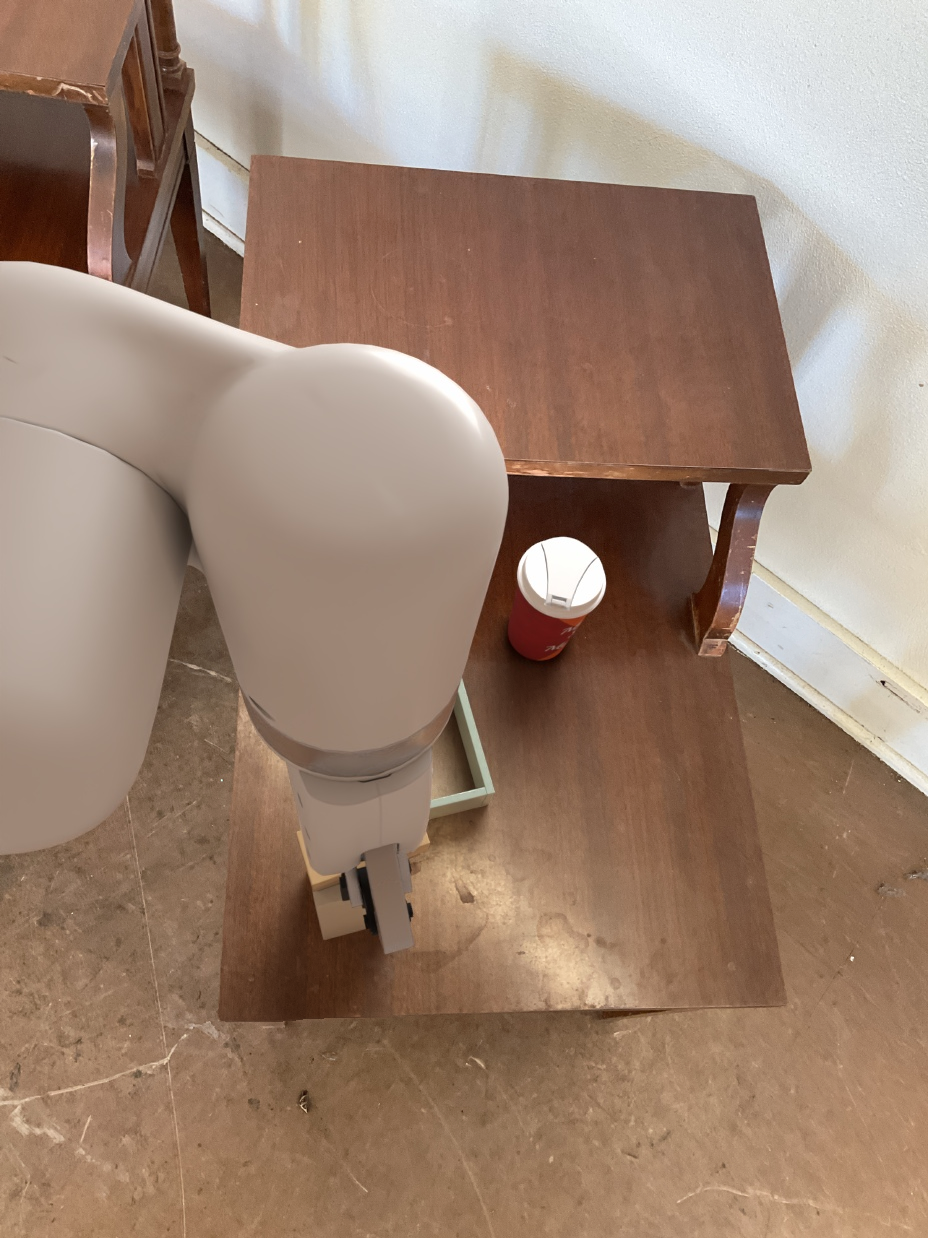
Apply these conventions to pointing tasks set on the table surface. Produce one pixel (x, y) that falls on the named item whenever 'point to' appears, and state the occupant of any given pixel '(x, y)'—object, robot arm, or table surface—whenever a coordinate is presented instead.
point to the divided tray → (476, 763)
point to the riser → (337, 913)
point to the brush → (328, 881)
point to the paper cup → (553, 596)
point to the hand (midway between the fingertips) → (352, 792)
